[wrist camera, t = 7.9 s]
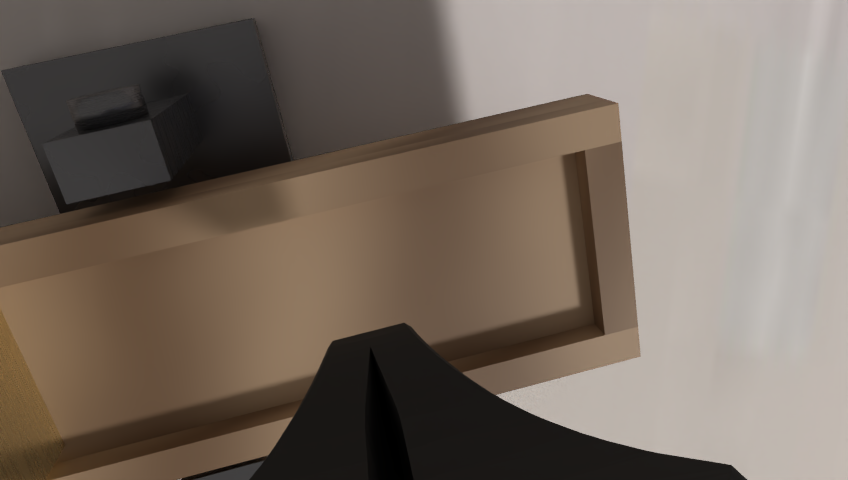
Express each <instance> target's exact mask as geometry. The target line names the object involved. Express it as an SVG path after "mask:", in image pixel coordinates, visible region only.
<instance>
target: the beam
mask: <svg viewBox="0 0 848 480" xmlns="http://www.w3.org/2000/svg"><path fill="white" fill-rule="evenodd" d="M0 309H1V311H2V313H3V315H4V317H5V320H6V322H7V324H8V326H9V328H10V330H11V332H12V334H13V336H14V339H15V341H16V343H17V345H18V347H19V349H20V351H21V353H22V355H23V358H24V360H25V362H26V364H27V366H28V368H29V370H30V372H31V374H32V376H33V379H34V381H35V383H36V385H37V387H38V389H39V391H40V393H41V395H42V398H43V400H44V402H45V404H46V406H47V408H48V410H49V412H50V414H51V417H52V419H53V421H54V423H55V425H56V427H57V429H58V431H59V433H60V436H61V438H62V440H63V442H64V444H65V446H64V448H63V450H62V452H61V454H60V455H59V457H58V459H57V461H56V462H55V464H54V466H53V468H52V470H51V471H50V473H49V475H48V477H47V478H46V480H177V479H181V478H184V477H188V476H192V475H196V474H199V473H203V472H207V471H211V470H215V469H218V468H222V467H226V466H230V465H233V464H237V463H241V462H245V461H248V460H252V459H256V458H260V457H263V456H267V455H269V454H270V452H271V451H272V449H273V448H274V446H275V445H276V443H277V442H278V440H279V439H280V437H281V435H282V434H283V432H284V431H285V429H286V428H287V426H288V424H289V423H290V421H291V420H292V418H293V417H294V415H295V413H296V411H297V410H298V408H299V406H300V404H301V402H302V400H303V399H304V397H305V395H306V393H307V391H308V389H309V387H310V386H311V384H312V382H313V380H314V377H315V375H316V373H317V371H318V369H319V367H320V365H321V363H322V360H323V358H324V356H325V353H326V351H327V349H328V347H329V346H330V344H331V343H332V341H334V340H338V339H342V338H346V337H350V336H354V335H357V334H361V333H365V332H369V331H373V330H377V329H381V328H385V327H389V326H393V325H397V324H401V323H406V324H408V325H409V326H411V327H412V328H413V329H414V330H415V332H416V333H417V334H418V335H419V336H420V337H421V338H422V339H423V340H424V341H425V342H426V343H427V344H428V345H429V346H430V347H431V348H432V349H433V350H435V351H436V352H437V353H438V354H439V355H440V356H441V357H443V358H444V359H445V360H446V361H448V362H449V363H450V364H451V365H453V366H454V367H455V368H457V369H458V370H459V371H460V372H462V373H463V374H464V375H466V376H467V377H469V378H470V379H471V380H473V381H474V382H476V383H477V384H479V385H480V386H482V387H483V388H485V389H486V390H488V391H489V392H491V393H493V394H494V395H497V394H501V393H504V392H508V391H512V390H516V389H519V388H523V387H527V386H531V385H535V384H538V383H542V382H546V381H550V380H553V379H557V378H561V377H565V376H568V375H572V374H576V373H580V372H583V371H587V370H591V369H595V368H599V367H602V366H606V365H610V364H614V363H617V362H621V361H625V360H629V359H632V358H636V357H640V345H639V334H638V323H637V311H636V300H635V288H634V277H633V266H632V254H631V243H630V232H629V220H628V209H627V198H626V186H625V175H624V164H623V152H622V141H621V130H620V118H619V107H618V103H616V102H612V101H609V100H606V99H602V98H599V97H596V96H593V95H589V94H585V95H580V96H576V97H571V98H567V99H563V100H558V101H554V102H549V103H545V104H541V105H536V106H532V107H527V108H523V109H519V110H514V111H510V112H506V113H501V114H497V115H492V116H488V117H484V118H479V119H475V120H470V121H466V122H462V123H457V124H453V125H448V126H444V127H440V128H435V129H431V130H426V131H422V132H418V133H413V134H409V135H405V136H400V137H396V138H391V139H387V140H383V141H378V142H374V143H369V144H365V145H361V146H356V147H352V148H347V149H343V150H339V151H334V152H330V153H325V154H321V155H317V156H312V157H308V158H304V159H299V160H295V161H290V162H286V163H282V164H277V165H273V166H268V167H264V168H260V169H255V170H251V171H246V172H242V173H238V174H233V175H229V176H224V177H220V178H216V179H211V180H207V181H203V182H198V183H194V184H189V185H185V186H181V187H176V188H172V189H167V190H163V191H159V192H154V193H150V194H145V195H141V196H137V197H132V198H128V199H123V200H119V201H115V202H110V203H106V204H102V205H97V206H93V207H88V208H84V209H80V210H75V211H71V212H66V213H62V214H58V215H53V216H49V217H44V218H40V219H36V220H31V221H27V222H22V223H18V224H14V225H9V226H5V227H1V228H0Z"/></svg>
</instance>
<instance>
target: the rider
mask: <svg viewBox="0 0 848 480" xmlns="http://www.w3.org/2000/svg"><path fill="white" fill-rule="evenodd" d="M64 446H65V444H64V442H63V440H62V438H61V436H60V433H59V431H58V429H57V427H56V425H55V423H54V421H53V419H52V417H51V414H50V412H49V410H48V408H47V406H46V404H45V402H44V400H43V398H42V395H41V393H40V391H39V389H38V387H37V385H36V383H35V381H34V379H33V376H32V374H31V372H30V370H29V368H28V366H27V364H26V362H25V360H24V358H23V355H22V353H21V351H20V349H19V347H18V345H17V343H16V341H15V339H14V336H13V334H12V332H11V330H10V328H9V326H8V324H7V322H6V320H5V317H4V315H3V313H2V311H1V309H0V480H46V478H47V477H48V475H49V473H50V471H51V470H52V468H53V466H54V464H55V462H56V461H57V459H58V457H59V455H60V454H61V452H62V450H63V448H64Z"/></svg>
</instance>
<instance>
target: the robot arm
mask: <svg viewBox="0 0 848 480" xmlns="http://www.w3.org/2000/svg"><path fill="white" fill-rule="evenodd" d="M249 480H747V479H746V478H745V477H743V476H742V475H741V474H740V473H739V472H738V471H737V470H736V469H735V468H734V467H733V466H731V465H727V464H721V463H715V462H709V461H703V460H697V459H690V458H684V457H678V456H672V455H666V454H660V453H654V452H650V451H645V450H641V449H637V448H633V447H629V446H625V445H621V444H617V443H613V442H609V441H606V440H602V439H599V438H596V437H592V436H589V435H586V434H582V433H579V432H577V431H574V430H571V429H569V428H566V427H563V426H560V425H558V424H555V423H552V422H550V421H547V420H545V419H542V418H540V417H538V416H535V415H533V414H531V413H528V412H526V411H524V410H522V409H520V408H518V407H516V406H514V405H512V404H510V403H508V402H506V401H504V400H503V399H501V398H499V397H498V396H496V395H494V394H493V393H491V392H489V391H488V390H486V389H485V388H483V387H482V386H480V385H479V384H477V383H476V382H474V381H473V380H471V379H470V378H469V377H467V376H466V375H464V374H463V373H462V372H460V371H459V370H458V369H457V368H455V367H454V366H453V365H451V364H450V363H449V362H448V361H446V360H445V359H444V358H443V357H441V356H440V355H439V354H438V353H437V352H436V351H435V350H433V349H432V348H431V347H430V346H429V345H428V344H427V343H426V342H425V341H424V340H423V339H422V338H421V337H420V336H419V335H418V334H417V333H416V332H415V330H414V329H413V328H412V327H411V326H409V325H408V324H406V323H401V324H397V325H393V326H389V327H385V328H381V329H377V330H373V331H369V332H365V333H361V334H357V335H354V336H350V337H346V338H342V339H338V340H334V341H332V343H331V344H330V346H329V347H328V349H327V351H326V353H325V356H324V358H323V360H322V363H321V365H320V367H319V369H318V371H317V373H316V375H315V377H314V380H313V382H312V384H311V386H310V387H309V389H308V391H307V393H306V395H305V397H304V399H303V400H302V402H301V404H300V406H299V408H298V410H297V411H296V413H295V415H294V417H293V418H292V420H291V421H290V423H289V424H288V426H287V428H286V429H285V431H284V432H283V434H282V435H281V437H280V439H279V440H278V442H277V443H276V445H275V446H274V448H273V449H272V451H271V452H270V454H269V455H268V457H267V458H266V459H265V461H264V462H263V463H262V465H261V466H260V467H259V468H258V469H257V471H256V472H255V473H254V474H253V476H252V477H251V478H250V479H249Z"/></svg>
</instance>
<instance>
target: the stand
mask: <svg viewBox="0 0 848 480" xmlns="http://www.w3.org/2000/svg"><path fill="white" fill-rule="evenodd" d="M2 74H3V76H4V79H5V81H6V84H7V86H8V88H9V91H10V93H11V96H12V98H13V100H14V103H15V105H16V108H17V110H18V113H19V115H20V117H21V120H22V122H23V125H24V127H25V129H26V132H27V134H28V137H29V139H30V142H31V144H32V146H33V149H34V151H35V154H36V156H37V158H38V161H39V163H40V166H41V168H42V171H43V173H44V175H45V178H46V180H47V183H48V185H49V187H50V190H51V192H52V195H53V197H54V199H55V202H56V204H57V207H58V209H59V212H60V214H62V213H66V212H71V211H75V210H80V209H84V208H88V207H93V206H97V205H102V204H106V203H110V202H115V201H119V200H123V199H128V198H132V197H137V196H141V195H145V194H150V193H154V192H159V191H163V190H167V189H172V188H176V187H181V186H185V185H189V184H194V183H198V182H203V181H207V180H211V179H216V178H220V177H224V176H229V175H233V174H238V173H242V172H246V171H251V170H255V169H260V168H264V167H268V166H273V165H277V164H282V163H286V162H290V161H293V158H292V155H291V151H290V147H289V144H288V140H287V136H286V133H285V129H284V125H283V122H282V118H281V114H280V111H279V107H278V103H277V100H276V96H275V92H274V89H273V85H272V81H271V78H270V74H269V70H268V66H267V63H266V59H265V55H264V52H263V48H262V44H261V41H260V37H259V33H258V30H257V26H256V22H255V19H254V18H253V19H248V20H243V21H238V22H233V23H229V24H224V25H219V26H214V27H209V28H205V29H200V30H195V31H190V32H185V33H181V34H176V35H171V36H166V37H161V38H156V39H152V40H147V41H142V42H137V43H132V44H128V45H123V46H118V47H113V48H108V49H104V50H99V51H94V52H89V53H84V54H79V55H75V56H70V57H65V58H60V59H55V60H51V61H46V62H41V63H36V64H31V65H27V66H22V67H17V68H12V69H7V70H2ZM267 457H268V455H267V456H263V457H260V458H256V459H252V460H248V461H245V462H241V463H237V464H233V465H230V466H226V467H222V468H218V469H215V470H211V471H207V472H203V473H199V474H196V475H192V476H188V477H184V478H182V479H181V480H249V479H250V478H251V477H252V476H253V474H254V473H255V472H256V471H257V469H258V468H259V467H260V466H261V465H262V463H263V462H264V461H265V459H266V458H267Z"/></svg>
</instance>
